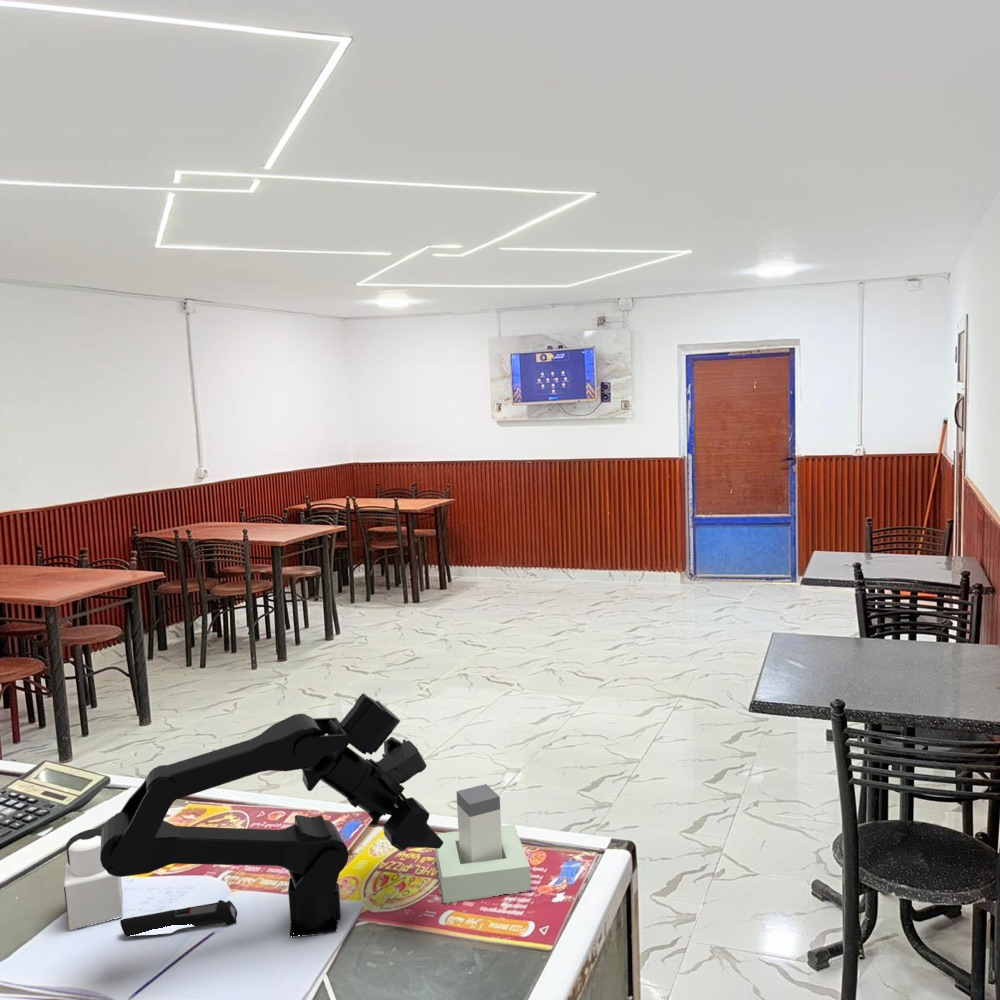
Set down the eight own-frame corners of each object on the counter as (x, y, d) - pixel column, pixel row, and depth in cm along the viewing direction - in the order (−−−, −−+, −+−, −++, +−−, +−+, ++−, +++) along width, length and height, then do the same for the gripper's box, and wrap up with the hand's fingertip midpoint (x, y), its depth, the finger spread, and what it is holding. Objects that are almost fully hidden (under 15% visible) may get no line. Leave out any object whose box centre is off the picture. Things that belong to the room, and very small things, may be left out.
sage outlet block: (443, 903, 128) (442, 877, 128) (435, 857, 141) (434, 833, 141) (531, 891, 130) (530, 866, 130) (515, 847, 143) (514, 824, 143)
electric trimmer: (125, 931, 125) (122, 911, 125) (237, 912, 129) (236, 892, 128) (120, 947, 122) (117, 926, 121) (236, 927, 125) (234, 906, 125)
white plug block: (472, 880, 132) (469, 804, 131) (460, 864, 137) (456, 791, 135) (502, 871, 134) (499, 796, 133) (489, 856, 139) (486, 783, 137)
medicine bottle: (70, 906, 132) (62, 830, 130) (122, 893, 134) (115, 819, 133) (68, 932, 125) (59, 852, 124) (122, 918, 128) (115, 840, 126)
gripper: (411, 753, 119) (489, 812, 125) (370, 710, 135) (440, 764, 141) (358, 823, 116) (439, 879, 122) (323, 770, 133) (396, 822, 139)
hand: (430, 831), depth 131 cm, fingers open, 9 cm apart
